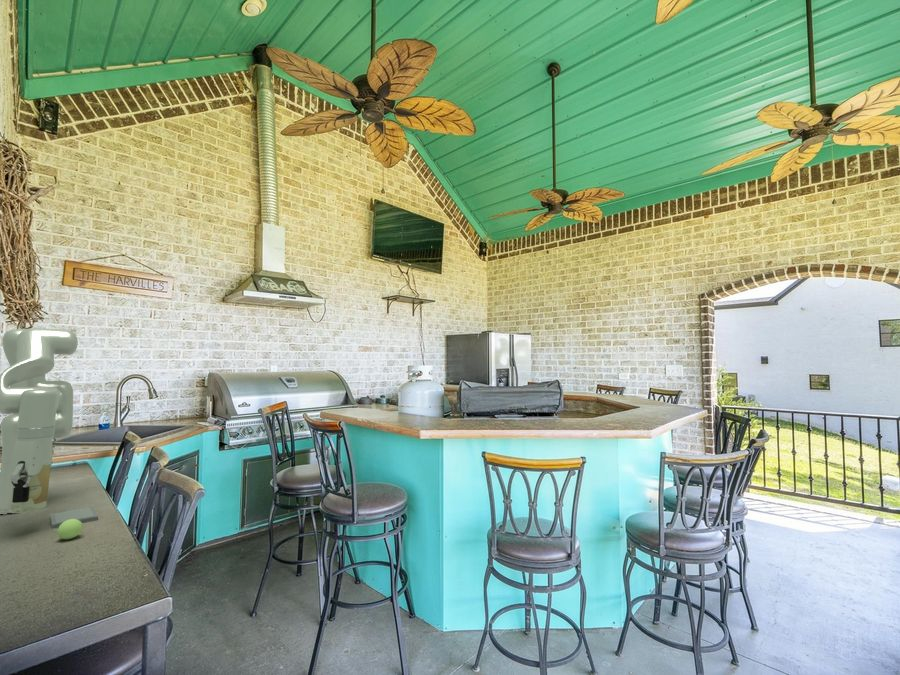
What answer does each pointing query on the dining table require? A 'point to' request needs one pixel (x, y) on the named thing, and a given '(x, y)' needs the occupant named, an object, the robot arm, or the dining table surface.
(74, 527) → the lime
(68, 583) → the dining table surface
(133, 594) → the dining table surface
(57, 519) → the metal tray
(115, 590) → the dining table surface
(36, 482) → the skincare box
